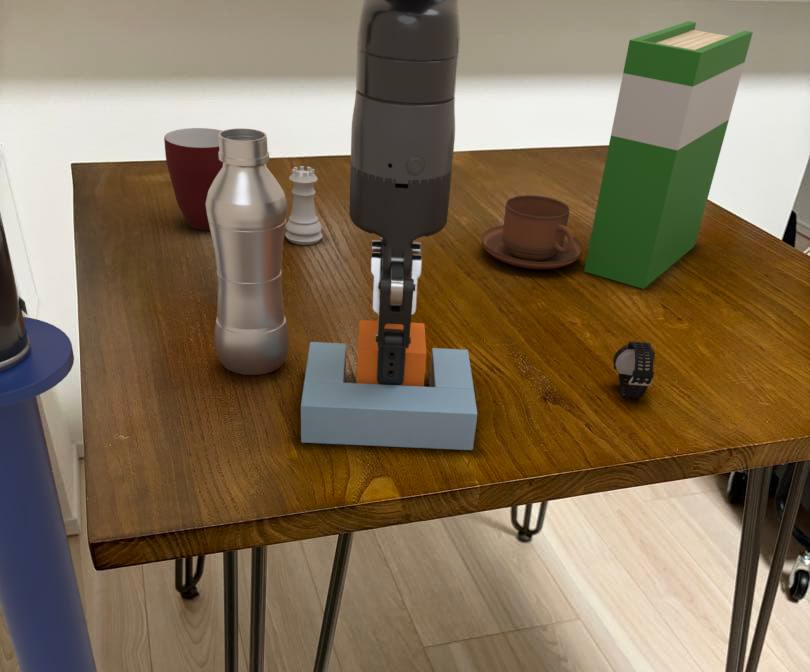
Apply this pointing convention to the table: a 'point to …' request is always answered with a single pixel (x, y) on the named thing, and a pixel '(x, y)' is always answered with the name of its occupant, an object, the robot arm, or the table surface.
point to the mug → (193, 170)
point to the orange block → (369, 353)
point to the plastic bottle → (248, 255)
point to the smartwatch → (634, 368)
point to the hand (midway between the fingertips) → (389, 364)
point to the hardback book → (663, 150)
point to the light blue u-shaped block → (388, 404)
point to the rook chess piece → (303, 209)
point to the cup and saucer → (533, 234)
